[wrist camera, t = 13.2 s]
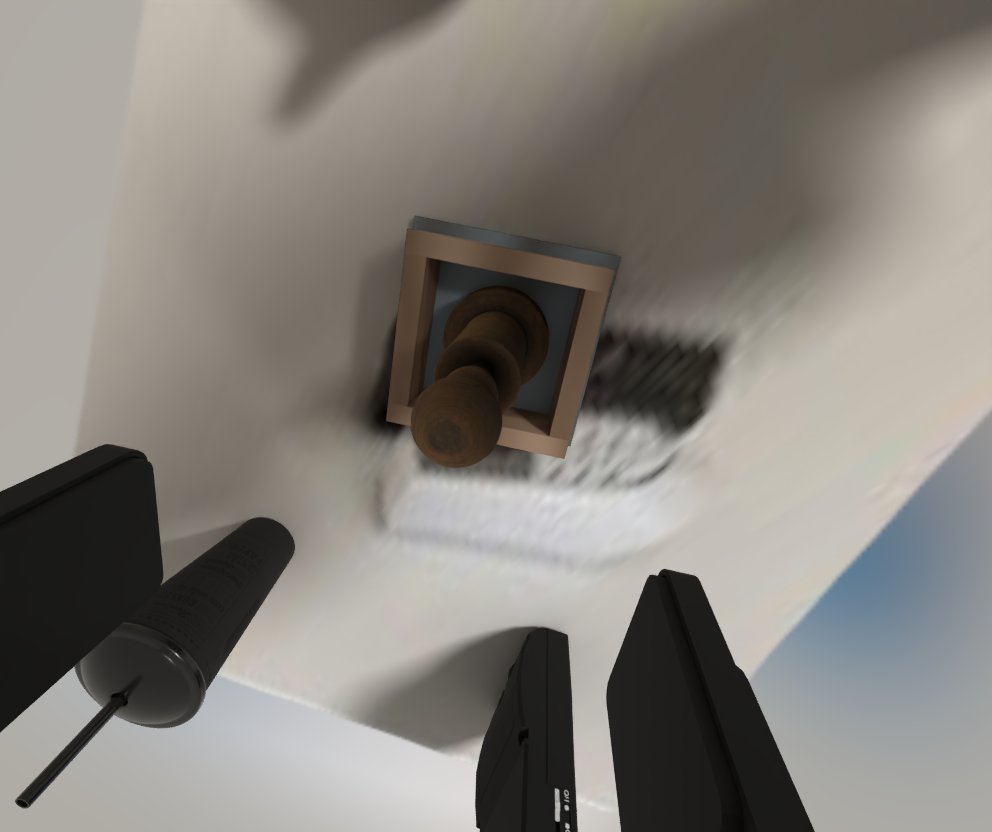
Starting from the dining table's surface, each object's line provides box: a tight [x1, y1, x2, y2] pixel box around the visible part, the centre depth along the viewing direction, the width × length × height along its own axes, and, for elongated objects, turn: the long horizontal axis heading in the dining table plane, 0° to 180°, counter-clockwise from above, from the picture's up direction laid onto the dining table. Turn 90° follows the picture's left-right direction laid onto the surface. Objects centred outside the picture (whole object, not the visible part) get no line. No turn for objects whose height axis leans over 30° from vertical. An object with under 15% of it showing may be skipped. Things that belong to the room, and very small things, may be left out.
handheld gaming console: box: [475, 629, 578, 832], centre depth 33 cm, size 12×5×20 cm, turn 164°
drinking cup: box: [15, 518, 295, 808], centre depth 31 cm, size 8×8×20 cm
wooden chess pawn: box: [411, 286, 549, 468], centre depth 23 cm, size 7×6×18 cm
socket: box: [386, 216, 621, 459], centre depth 30 cm, size 13×13×5 cm
